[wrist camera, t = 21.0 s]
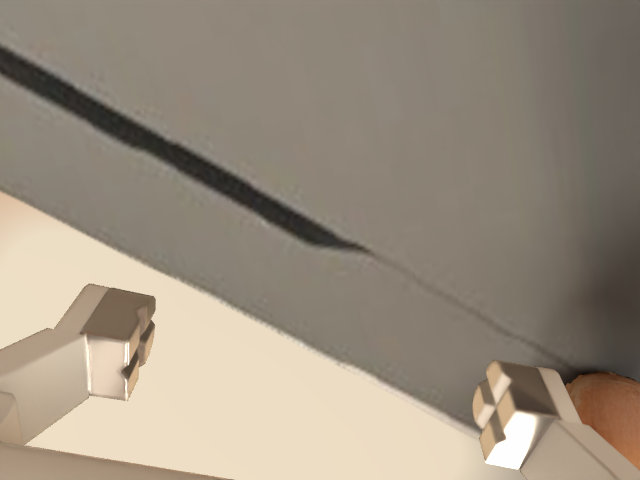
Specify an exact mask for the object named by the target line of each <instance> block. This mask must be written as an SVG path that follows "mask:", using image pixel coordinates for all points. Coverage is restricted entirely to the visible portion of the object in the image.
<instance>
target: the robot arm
mask: <svg viewBox="0 0 640 480" xmlns="http://www.w3.org/2000/svg"><path fill="white" fill-rule="evenodd" d="M154 312H155V298H154V296H149V295H144V294H140V293H135V292H130V291H125V290H121V289H116V288H109V287H104V286H100V285H95V284H88V285H86V286H85V287H84V288H83V289H82V291H81V292H80V294H79V295H78V296H77V298H76V299H75V301H74V302H73V303H72V305H71V306H70V307H69V309H68V310H67V312H66V313H65V314H64V316H63V317H62V318H61V320H60V321H59V322H58V324H57V325H56V327H55V328H54V329H49V328H46V329H44V330H42V331H40V332H37V333H35V334H33V335H31V336H29V337H27V338H25V339H22V340H20V341H18V342H16V343H13V344H11V345H9V346H7V347H5V348H3V349H1V350H0V480H232V479H226V478H220V477H214V476H208V475H202V474H195V473H190V472H183V471H177V470H171V469H165V468H159V467H153V466H147V465H141V464H135V463H128V462H122V461H116V460H110V459H104V458H98V457H92V456H86V455H80V454H74V453H68V452H62V451H55V450H49V449H43V448H37V447H31V446H25V444H26V443H28V442H29V441H30V440H32V439H33V438H35V437H36V436H37V435H39V434H40V433H41V432H43V431H44V430H45V429H47V428H48V427H49V426H51V425H52V424H54V423H55V422H56V421H58V420H59V419H61V418H62V417H63V416H65V415H66V414H67V413H69V412H70V411H71V410H73V409H74V408H75V407H77V406H78V405H80V404H81V403H82V402H84V401H85V400H86V399H88V398H89V396H96V397H103V398H110V399H117V400H124V401H128V400H129V397H130V395H131V393H132V391H133V389H134V387H135V385H136V382H137V380H138V374H139V373H138V372H139V367H140V366H142V365H144V364H145V363H146V360H147V358H148V356H149V353H150V350H151V347H152V343H153V338H154V329H155V324H154V323H153V322H152V320H151V318H152V316H153V314H154ZM486 374H487V377H488V379H486V380H484V381H483V382H481V383H479V385H478V387H477V389H476V391H475V393H474V398H473V415H474V420H475V423H476V424H477V425H478V426H479V427H480V428H481V429H482V430H483V432H482V434H481V436H480V437H479V440H480V444H481V447H482V451H483V455H484V459H485V462H486V463H490V464H495V465H500V466H505V467H510V468H515V469H520V472H521V474H522V475H523V476H524V477H525V479H526V480H640V470H639V469H637V468H636V467H635V466H634V465H633V464H632V463H631V462H629V461H628V460H627V459H626V458H625V457H624V456H623V455H622V454H620V453H619V452H618V451H617V450H616V449H615V448H614V447H613V446H611V445H610V444H609V443H608V442H607V441H606V440H605V439H604V438H602V437H601V436H600V435H599V434H598V433H597V432H596V431H595V430H593V429H592V428H591V427H590V426H589V425H585V424H582V422H581V420H580V418H579V416H578V413H577V411H576V409H575V407H574V405H573V403H572V401H571V399H570V396H569V394H568V392H567V390H566V388H565V386H564V384H563V382H562V380H561V377H560V375H559V374H558V372H556V371H555V370H553V369H547V368H541V367H535V366H534V367H532V366H527V365H522V364H516V363H510V362H505V361H499V360H493V361H492V362H491V363H490V364H489V365H488V367H487V369H486Z"/></svg>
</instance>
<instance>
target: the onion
mask: <svg viewBox="0 0 640 480" xmlns="http://www.w3.org/2000/svg"><path fill="white" fill-rule="evenodd" d="M614 372H615V371H614ZM614 372H613V373H612V372H609V371H608V372H605V371H596V372H589V373H594V374H586V375H578V377H577V378H576V379H574V380H573V381H572V383H570V384H569V383H567V384H566V386H565V388H566V390H567V392H568V394H569V396H570V399H571V401H572V403H573V405H574V407H575V409H576V411H577V413H578V416H579V418H580V420H581V422H582V424H585V425H589V426H590V427H591V428H592V429H593V430H595V431H596V432H597V433H598V434H599V435H600V436H601V437H602V438H604V439H605V440H606V441H607V442H608V443H609V444H610V445H611V446H613V447H614V448H615V449H616V450H617V451H618V452H619V453H620V454H622V455H623V456H624V457H625V458H626V459H627V460H628V461H629V462H631V463H632V464H633V465H634V466H635V467H636V468H637V469H639V470H640V383H638V382H637V381H635V380H634V379H630V378H631V377H623V376H621V375H618V374H615V373H614Z"/></svg>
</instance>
